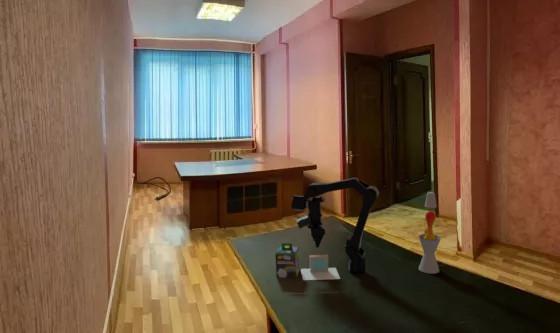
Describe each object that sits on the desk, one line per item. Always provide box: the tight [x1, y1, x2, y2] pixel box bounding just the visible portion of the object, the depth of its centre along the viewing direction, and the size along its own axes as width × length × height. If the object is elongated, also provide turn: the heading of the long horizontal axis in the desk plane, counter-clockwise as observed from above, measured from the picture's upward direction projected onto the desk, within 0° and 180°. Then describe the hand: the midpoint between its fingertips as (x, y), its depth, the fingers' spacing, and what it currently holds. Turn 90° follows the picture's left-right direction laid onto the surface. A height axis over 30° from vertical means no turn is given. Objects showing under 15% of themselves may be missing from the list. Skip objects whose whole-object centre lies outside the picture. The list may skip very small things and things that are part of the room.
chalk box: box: [274, 242, 301, 279], centre depth 167 cm, size 9×9×15 cm
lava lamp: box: [418, 191, 441, 275], centre depth 167 cm, size 9×9×35 cm
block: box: [309, 254, 329, 272], centre depth 169 cm, size 8×3×7 cm, turn 91°
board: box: [300, 267, 341, 281], centre depth 167 cm, size 16×12×1 cm
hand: (315, 244), depth 174 cm, fingers open, 9 cm apart
